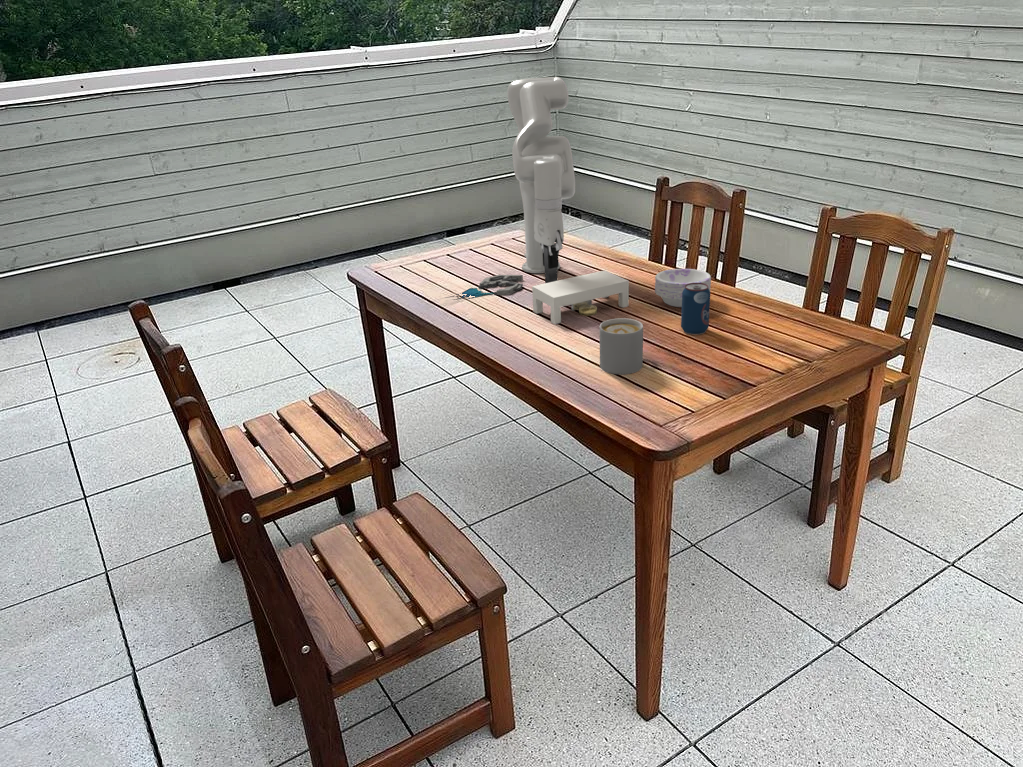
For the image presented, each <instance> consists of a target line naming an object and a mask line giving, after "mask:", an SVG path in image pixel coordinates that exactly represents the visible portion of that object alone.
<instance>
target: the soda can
mask: <svg viewBox="0 0 1023 767" xmlns="http://www.w3.org/2000/svg"><path fill="white" fill-rule="evenodd" d="M710 307H711V290H710V291H709V289H708V285H707V284H704V283H689V284H686V285H685V288H684V290H683V292H682V307H681V316H680V317H681V318H680V327H681V329H682V332H684V333H685V334H688V335H693V336H697V335H698V336H699V335H703V334H705V333H706V332H707V331H708V329H709V325H710V309H711V308H710Z"/></svg>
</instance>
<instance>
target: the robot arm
mask: <svg viewBox="0 0 1023 767" xmlns="http://www.w3.org/2000/svg"><path fill="white" fill-rule="evenodd" d="M506 93H507V101H508V106H509V110H510V112H511V115H512V117H513V119H514V121H515V123H516V125H517V129H518V130H517V131H518V134H517V136H516V137H515V140H514V142H513V144H512V149H511V150H512V151H511V152H512V153H511V155H512V163H513V164H512V166H513V171H514V176H515V178H516V180H517V181H519V190H520V195H521V200H522V201H521V202H522V206H523V221H524V223H523V224H524V239H525V240H524V242H525V253H524V254H523V256H524V257H525V259H526V260H525V262H524V263H522V265H521V269H522V271H524V272H526V273H530V274H531V273H532V274H545V268H544V247H545V246H549V255H548V268H549V269H552V268H556V267H557V271H558V270H559V269H560V268H561V263H560V262H559V255H560V251H561V250H563V249H564V247H563V243H564V239H565V238H564V237H565V232H564V220H563V213H562V208H563V206H562V205H563V202H562V200H568V199H572V198H573V197H574V196H575V193H576V178H575V177H576V176H575V168H574V160H573V154H572V152H573V150H572V146H571V144H570V140H569V139H568V138H567V137H566V136H563V135H551V136H550V135H549V134H550V133H551V131H552V129H553V120H552V114H551V111H552V110H554V111H555V110H563V109H565V108H566V107H567V106H568V104H569V89H568V86H567V84H566V82H565V81H564V80H563V79H562V78H561V77H560V76H545V77H532V78H531V77H530V78H529V77H528V78H522V79H517V80H514V81H512V82H510V83H509V85H508V86H507V92H506ZM548 135H549V136H548ZM554 246H555V247H554ZM552 247H553V249H552Z"/></svg>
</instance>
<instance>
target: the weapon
mask: <svg viewBox="0 0 1023 767" xmlns="http://www.w3.org/2000/svg"><path fill="white" fill-rule="evenodd" d="M523 279H524V277H523V274H496V275H492V276H489V277H486V278H483V280H482V281H480V282H479V285H478V288H477V287H470V288H468V289H466V290H465V291H463V292H461V293H462V294H467V295H466V296H465V295H463V296H462V298H463V299H466V298H465V297H469V296H470V295H471V296H475V298H479V297H482V296H486V295H493V294H494V295H495V296H496V295H497V296H503V295H511V294H513V293H515V292H517V291H520V290H522V288H523V286H524V283H521V282H523V281H524V280H523ZM497 286H499V287H505V288H499V289H497V290H496V291H494V292H483V291H482V289H488V288H494V287H497ZM506 286H507V287H506ZM459 294H460V293H458V294H457V295H459ZM464 296H465V297H464ZM472 299H474V297H473V298H472ZM459 300H461V298H459ZM468 300H470V298H468Z"/></svg>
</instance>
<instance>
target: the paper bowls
mask: <svg viewBox="0 0 1023 767" xmlns="http://www.w3.org/2000/svg"><path fill="white" fill-rule="evenodd" d="M654 280H655V282H654V293H655V294H656V295H657V296H659V297H661V299H662V301H663V302H664V303H665V304H667V305H668V306H671V307H674V308H675V307H676V308H682V292H683V290H684V288H685V285H686V284H689V283H704V284H707V285H708V289H709V291H710V292H711V287H712V286H711V283H712V276H711V275H710V273H708V272H706V271H704V270H701V269H694V268H672V269H666V270H662V271H660V272H658V273H657V274H656V275H655V278H654Z"/></svg>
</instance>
